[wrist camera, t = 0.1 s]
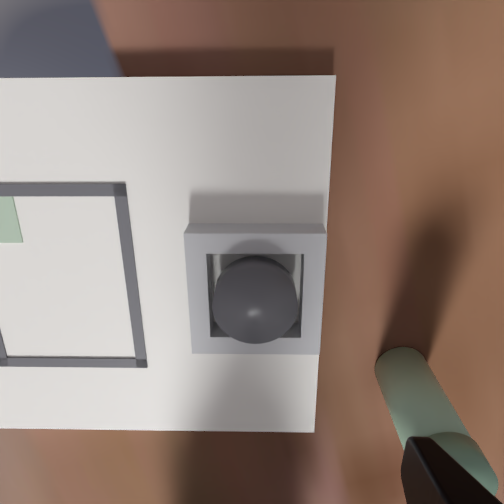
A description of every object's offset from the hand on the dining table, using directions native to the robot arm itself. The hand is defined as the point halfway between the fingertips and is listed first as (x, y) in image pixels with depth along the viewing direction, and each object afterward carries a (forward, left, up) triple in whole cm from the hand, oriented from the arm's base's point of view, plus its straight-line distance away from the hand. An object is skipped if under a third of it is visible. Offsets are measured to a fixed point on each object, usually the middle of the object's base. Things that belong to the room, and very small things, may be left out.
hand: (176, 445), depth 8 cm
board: (-3, +5, -15) cm, 16 cm away
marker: (-9, -10, -15) cm, 20 cm away
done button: (-3, -1, -13) cm, 13 cm away
